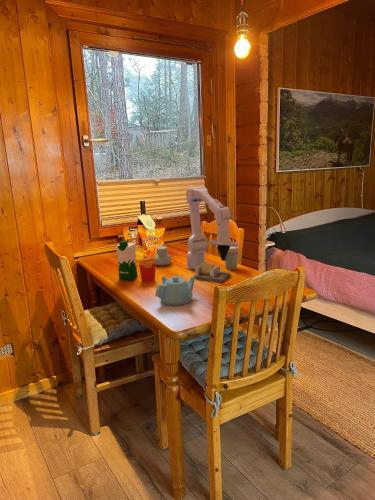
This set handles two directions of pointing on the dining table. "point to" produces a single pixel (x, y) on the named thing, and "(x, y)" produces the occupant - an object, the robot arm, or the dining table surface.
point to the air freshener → (162, 256)
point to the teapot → (175, 290)
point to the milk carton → (126, 260)
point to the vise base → (219, 278)
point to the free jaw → (215, 271)
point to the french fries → (147, 269)
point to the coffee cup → (232, 258)
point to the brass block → (206, 268)
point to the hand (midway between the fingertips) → (223, 260)
